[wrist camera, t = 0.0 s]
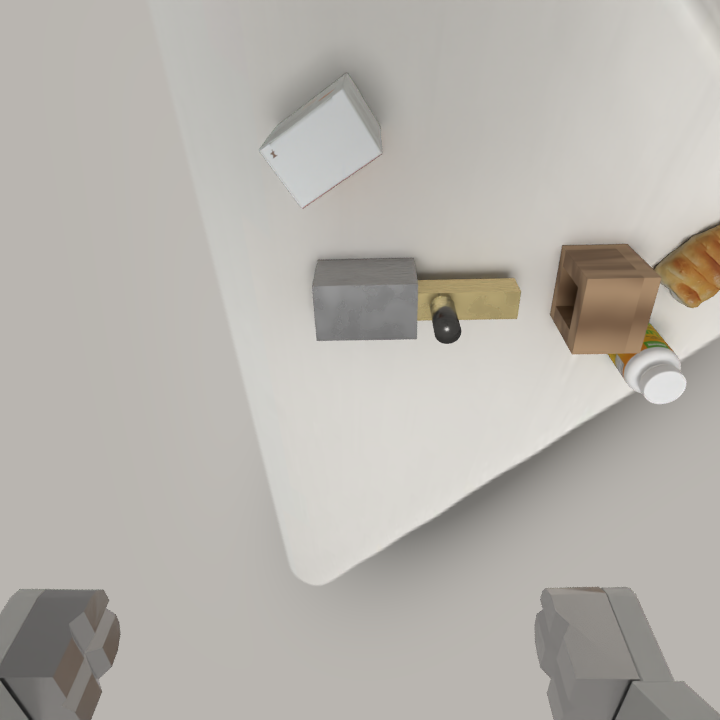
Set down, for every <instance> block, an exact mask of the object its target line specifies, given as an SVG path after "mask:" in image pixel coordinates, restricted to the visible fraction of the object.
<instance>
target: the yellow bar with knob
mask: <svg viewBox="0 0 720 720" xmlns="http://www.w3.org/2000/svg"><path fill="white" fill-rule="evenodd" d="M520 295H521V290H520V289H519V287H518V285H517V283H516V281H515V279H514V278H503V279H454V280H418V310H417V321H420V320H432V322H433V328H434V333H435V337H436V339H437V340H438V341H439V342H441V343H445V344H449V343H453V342H455V341H456V340H458V338H459V337H460V335H461V327H460V324H459V320H476V319H517V316H518V309H519V302H520Z"/></svg>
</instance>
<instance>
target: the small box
mask: <svg viewBox="0 0 720 720" xmlns="http://www.w3.org/2000/svg"><path fill="white" fill-rule="evenodd" d="M259 152H260V153H261V155H262V156H263V157H264V159H265V160H266V161H267V163H268V164H269V165H270V167H271V168H272V169H273V171H274V172H275V173H276V175H277V176H278V177H279V179H280V180H281V182H282V183H283V184H284V186H285V187H286V188H287V190H288V191H289V192H290V194H291V195H292V196H293V198H294V199H295V200H296V202H297V203H298V205H299V206H300V207H301V208H302V209H303V208H305V207H306V206H308V205H309V204H310V203H312V202H313V201H315V200H316V199H318V198H319V197H321V196H322V195H323V194H325V193H326V192H328V191H329V190H331V189H332V188H334V187H335V186H337V185H338V184H339V183H341V182H342V181H344V180H345V179H347V178H348V177H350V176H351V175H352V174H354V173H355V172H357V171H358V170H360V169H361V168H363V167H364V166H366V165H367V164H369V163H370V162H371V161H373V160H374V159H376V158H377V157H378V156H380V155H382V153H383V151H382V139H381V129H380V125H379V124H378V122H377V120H376V119H375V117H374V115H373V114H372V112H371V110H370V109H369V107H368V105H367V104H366V102H365V100H364V99H363V97H362V95H361V94H360V92H359V90H358V89H357V87H356V86H355V84H354V82H353V81H352V79H351V78H350V76H349V74H348V73H345V74H344V75H343V76H342V77H340V78H339V79H338V80H337V81H335V82H334V83H333V84H331V85H330V86H329V87H327V88H326V89H325V90H323V91H322V92H321V93H319V94H318V95H317V96H316V97H314V98H313V99H312V100H310V101H309V102H308V103H306V104H305V105H304V106H302V107H301V108H300V109H298V110H297V111H296V112H294V113H293V114H292V115H291V116H289V117H288V118H287V119H285V120H284V121H283V122H281V123H280V124H278V125H277V126H276V128H275V129H274V130H273V131H272V133H271V134H270V135H269V137H268V138H267V139H266V141H265V142H264V143H263V145H262V146H261V147H260V149H259Z"/></svg>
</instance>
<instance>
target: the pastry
mask: <svg viewBox="0 0 720 720" xmlns="http://www.w3.org/2000/svg"><path fill="white" fill-rule="evenodd" d="M654 271H655V272H656V273H657V274H659V275H660V276H661V277H662V278H661V281H660V283H661V284H663V285H664V286H665V287H667V288H668V289H670V291H671V294H672V296H673V298H675V299H676V300H677V301H678V302H680V303H681V304H684V305H685V306H687V307H690V308H694V307H698V306H699V305H700V304H701V303H702V302H704V301H706V300H708V299H709V298H711V297H713V296H714V295H715V294H716V293H717V292H718V291H719V290H720V225H718V226H716V227H714V228H712V229H709V230H707V231H705V232H703V233H699V234H696V235H694V236H692V237H691V238H690V239H689V240H688V241H687V242H685V243H684V244H682V245H681V246H680V247H678V248H677V249H676V250H674V251H672V252H671V253H670V254H669V255H668V256H666V257H665V258H664V259H663V260H662V261H661V262H660V263H659V264H658V265H657V266H656V268H655V269H654Z"/></svg>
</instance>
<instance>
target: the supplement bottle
mask: <svg viewBox="0 0 720 720" xmlns="http://www.w3.org/2000/svg"><path fill="white" fill-rule="evenodd" d="M608 355H609V357H610V358H611V360H612V361H613V363H614V365H615V366H616V368H617V369H618V371H619V372H620V374H621V375H622V377H623V378H624V380H625V381H626V383H627V384H628V385H629V387H630V388H632V389H633V390H635V391H636V392H639V393H642V394H643V395H644V397H645V398H646V399H647V400H648V401H650V402H651V403H655V404H665V403H669V402H671V401H674V400H675V399H676V398H678V397H679V396H680V395H681V394H682V393H683V392H684V390H685V388H686V379H685V377H684V376H683V374H682V373H681V372H680V371H681V363H680V360H679V358H678V357H677V355H676V354H675V353H674V351H673V350H672V349H671V348H670V347H669V346H668V344H667V343H666V342H665V341H664V340H663V338H662V337H661V336H660V335H659V334H658V332H657V331H656V330H655V329H654V327H653V326H652V325H651V324H650V323H648V327H647V330H646V334H645V337H644V341H643V344H642V347H641V351H640V353H624V354H608Z"/></svg>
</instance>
